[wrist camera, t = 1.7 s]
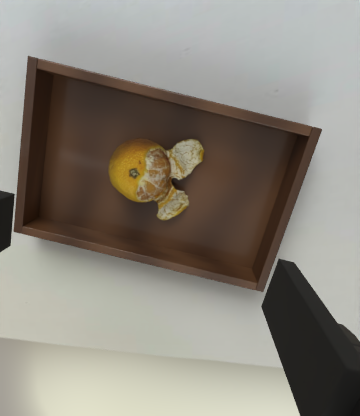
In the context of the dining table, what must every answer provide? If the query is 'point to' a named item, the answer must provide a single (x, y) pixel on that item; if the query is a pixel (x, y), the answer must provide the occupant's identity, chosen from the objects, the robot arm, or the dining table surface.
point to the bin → (192, 184)
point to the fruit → (154, 172)
